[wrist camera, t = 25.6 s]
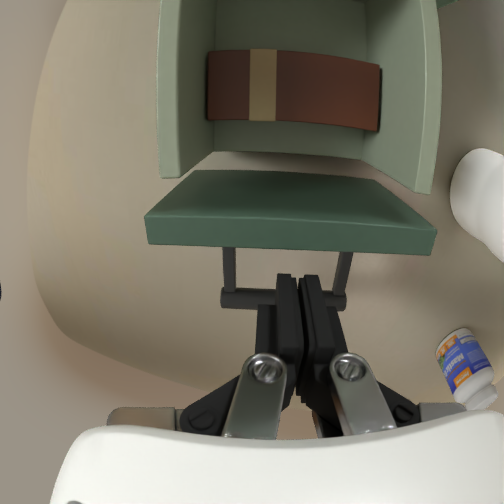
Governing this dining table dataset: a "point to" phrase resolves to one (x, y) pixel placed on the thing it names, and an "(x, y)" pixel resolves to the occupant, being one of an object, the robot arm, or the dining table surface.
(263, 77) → the brown banded block
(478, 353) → the pill bottle
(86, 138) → the dining table surface
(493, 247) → the water bottle
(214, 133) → the drawer
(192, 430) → the robot arm
